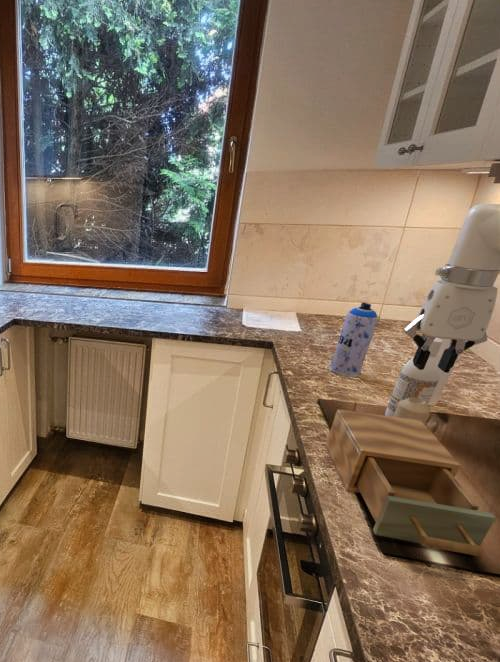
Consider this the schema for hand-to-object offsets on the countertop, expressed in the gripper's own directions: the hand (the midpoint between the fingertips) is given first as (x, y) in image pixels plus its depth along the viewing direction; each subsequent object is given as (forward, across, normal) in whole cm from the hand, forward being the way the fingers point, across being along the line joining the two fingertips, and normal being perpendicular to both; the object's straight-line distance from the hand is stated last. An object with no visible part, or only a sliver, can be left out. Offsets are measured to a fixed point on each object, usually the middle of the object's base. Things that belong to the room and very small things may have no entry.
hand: (430, 367), depth 94 cm
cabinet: (+17, -9, -15) cm, 25 cm away
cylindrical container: (+17, +13, +25) cm, 33 cm away
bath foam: (+17, +4, +11) cm, 21 cm away
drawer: (+16, -9, -31) cm, 36 cm away
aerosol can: (+17, -1, +39) cm, 43 cm away
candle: (+17, 0, 0) cm, 17 cm away
